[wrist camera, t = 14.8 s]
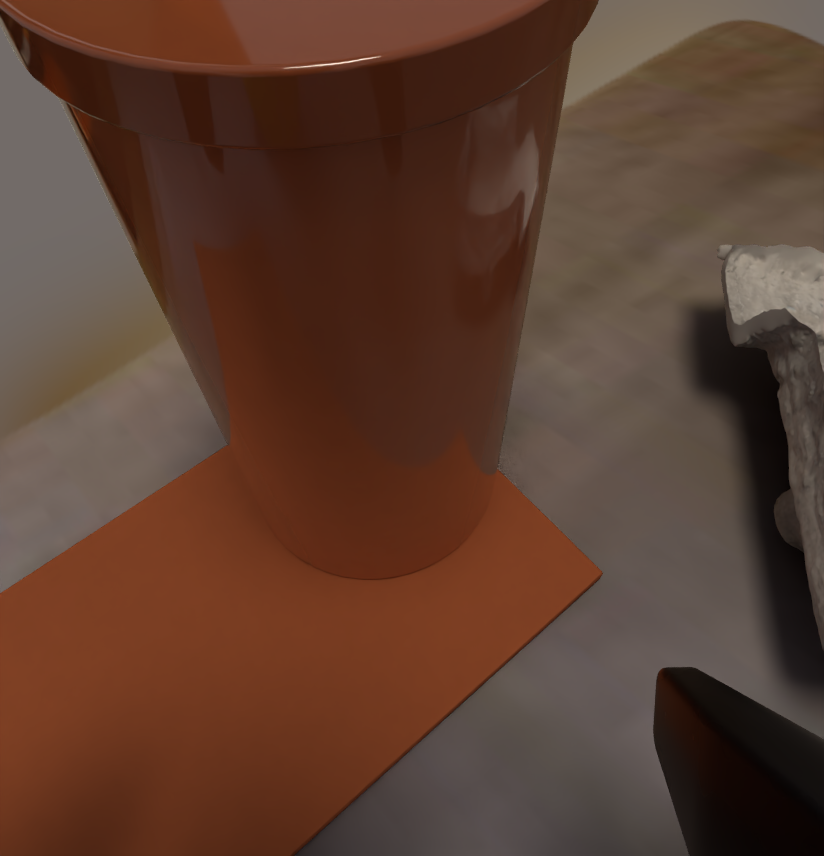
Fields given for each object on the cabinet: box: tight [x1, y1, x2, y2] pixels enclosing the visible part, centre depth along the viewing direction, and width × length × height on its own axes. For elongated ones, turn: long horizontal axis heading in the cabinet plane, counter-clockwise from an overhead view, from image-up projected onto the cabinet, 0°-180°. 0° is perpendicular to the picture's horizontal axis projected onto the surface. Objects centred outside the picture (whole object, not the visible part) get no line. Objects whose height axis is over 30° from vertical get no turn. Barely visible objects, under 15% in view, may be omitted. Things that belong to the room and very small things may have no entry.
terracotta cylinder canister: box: [0, 0, 599, 579], centre depth 13 cm, size 7×7×13 cm
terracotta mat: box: [0, 445, 603, 856], centre depth 16 cm, size 17×9×1 cm, turn 130°
